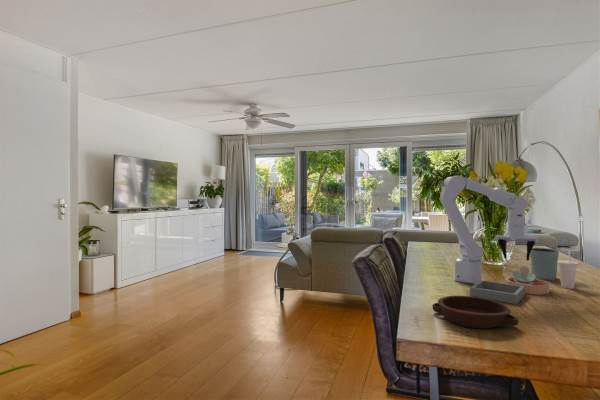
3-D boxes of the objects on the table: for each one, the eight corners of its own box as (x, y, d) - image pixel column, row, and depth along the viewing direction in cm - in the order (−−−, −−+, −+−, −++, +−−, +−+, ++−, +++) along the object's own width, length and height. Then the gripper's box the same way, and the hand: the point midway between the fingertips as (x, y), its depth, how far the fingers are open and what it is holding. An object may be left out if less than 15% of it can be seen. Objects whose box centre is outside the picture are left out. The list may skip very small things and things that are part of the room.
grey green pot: (547, 274, 151) (547, 247, 151) (565, 280, 141) (565, 251, 141) (524, 275, 151) (524, 247, 151) (540, 280, 141) (540, 251, 141)
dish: (516, 341, 83) (516, 321, 83) (423, 322, 96) (423, 304, 96) (520, 320, 97) (520, 302, 97) (439, 306, 110) (439, 290, 110)
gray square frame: (470, 295, 120) (470, 287, 120) (481, 287, 131) (481, 280, 131) (516, 304, 111) (516, 294, 111) (525, 294, 121) (525, 286, 121)
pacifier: (534, 288, 129) (534, 276, 133) (537, 277, 125) (536, 265, 129) (512, 284, 132) (512, 273, 136) (513, 273, 129) (513, 262, 133)
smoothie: (582, 289, 127) (582, 252, 126) (562, 289, 128) (562, 251, 128) (572, 285, 133) (572, 249, 133) (553, 284, 134) (553, 249, 134)
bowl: (501, 289, 128) (501, 281, 128) (510, 282, 138) (510, 275, 138) (546, 296, 119) (546, 287, 119) (551, 288, 129) (551, 280, 129)
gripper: (494, 225, 139) (494, 258, 139) (537, 227, 130) (537, 262, 131) (496, 224, 145) (496, 256, 145) (538, 225, 136) (538, 259, 136)
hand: (516, 259), depth 138 cm, fingers open, 7 cm apart
